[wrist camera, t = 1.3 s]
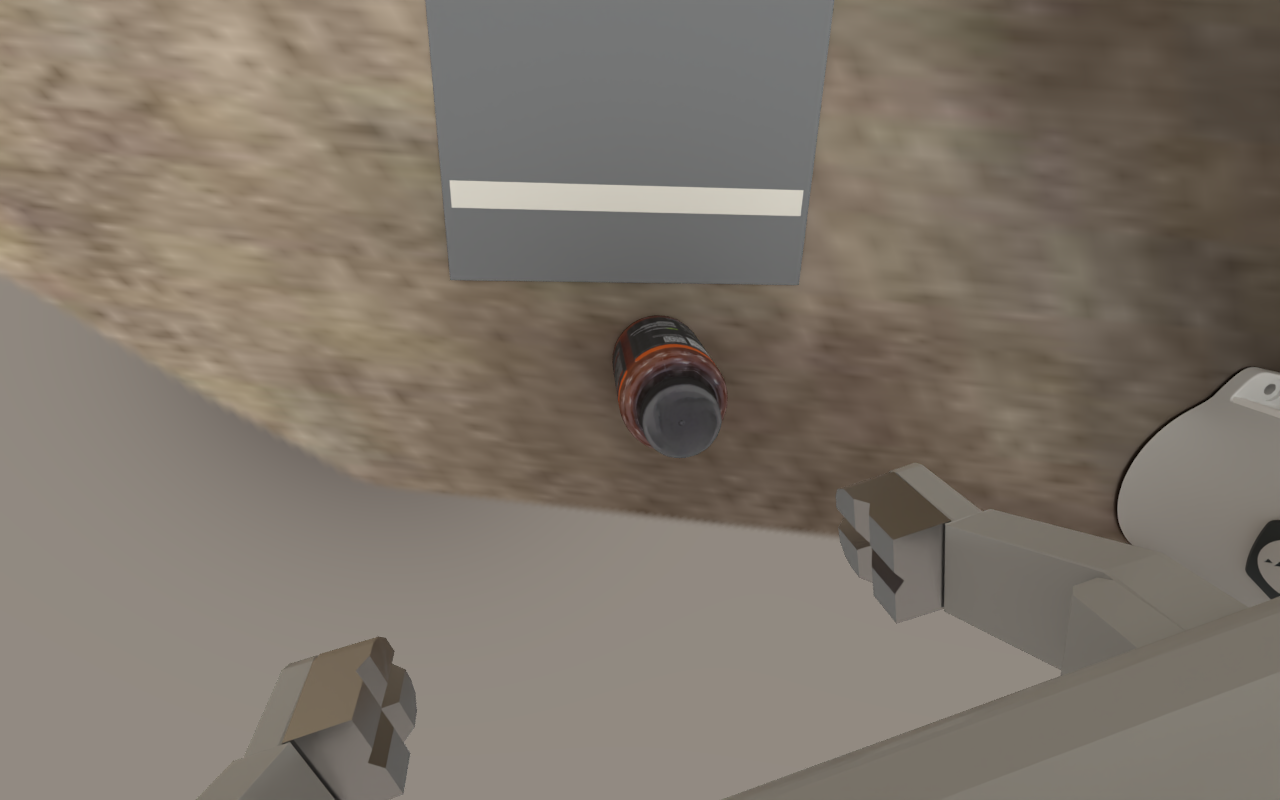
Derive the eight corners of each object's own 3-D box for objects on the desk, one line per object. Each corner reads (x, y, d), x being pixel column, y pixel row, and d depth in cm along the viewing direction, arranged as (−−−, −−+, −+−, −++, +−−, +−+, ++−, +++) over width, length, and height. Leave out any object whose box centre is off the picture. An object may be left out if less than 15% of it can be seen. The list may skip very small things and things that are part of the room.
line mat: (849, -144, 30) (854, -150, 30) (796, 283, 38) (799, 285, 37) (411, -178, 28) (408, -185, 28) (451, 278, 36) (449, 280, 36)
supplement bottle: (635, 412, 40) (651, 495, 30) (596, 337, 38) (598, 398, 28) (714, 375, 40) (758, 447, 29) (679, 297, 38) (713, 344, 27)
